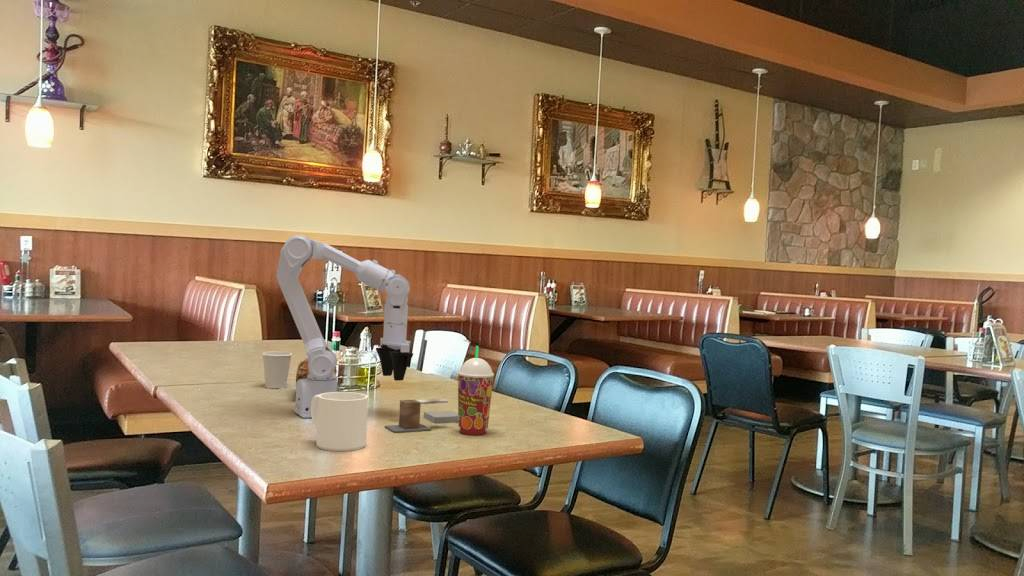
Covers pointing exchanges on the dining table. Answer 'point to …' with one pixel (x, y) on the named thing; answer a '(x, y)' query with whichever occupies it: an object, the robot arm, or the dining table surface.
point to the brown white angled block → (413, 412)
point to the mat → (399, 430)
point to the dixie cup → (276, 368)
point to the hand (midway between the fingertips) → (392, 378)
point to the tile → (441, 416)
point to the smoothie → (474, 395)
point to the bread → (304, 370)
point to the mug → (340, 420)
